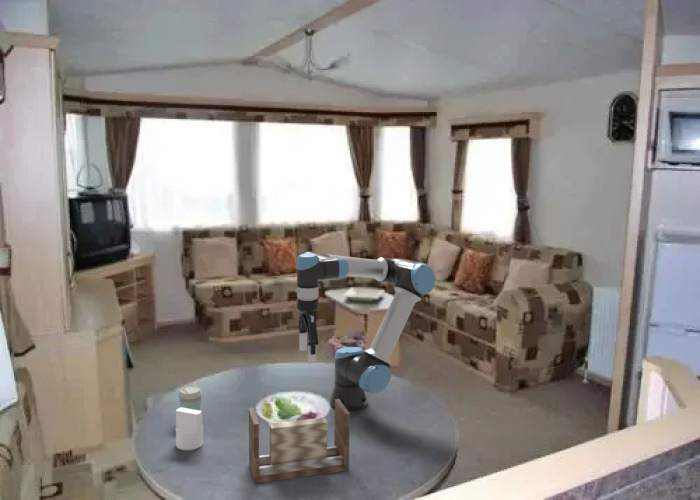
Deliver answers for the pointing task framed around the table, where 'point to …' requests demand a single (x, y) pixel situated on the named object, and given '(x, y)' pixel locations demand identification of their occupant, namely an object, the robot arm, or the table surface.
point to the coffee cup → (190, 397)
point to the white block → (189, 429)
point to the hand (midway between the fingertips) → (307, 356)
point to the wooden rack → (332, 463)
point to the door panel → (298, 440)
